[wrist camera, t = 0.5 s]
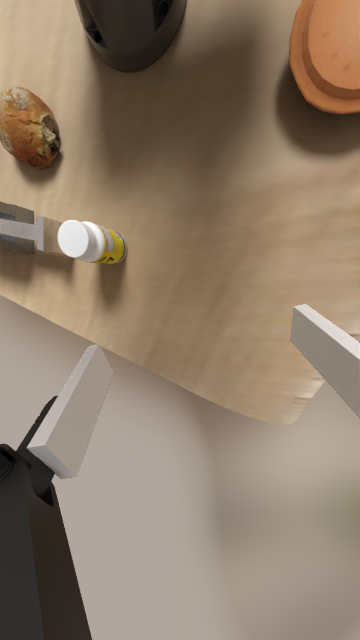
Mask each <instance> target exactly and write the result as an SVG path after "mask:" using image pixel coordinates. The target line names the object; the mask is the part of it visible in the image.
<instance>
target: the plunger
mask: <svg viewBox="0 0 360 640" xmlns="http://www.w3.org/2000/svg"><path fill="white" fill-rule="evenodd" d="M62 224H63V223H61V222H58V221H55V220H52V219H48V218H45V217H41V216H37V225H33V224H28V223H22V222H17V221H11V220H6V219H0V234H5V235H10V236H15V237H20V238H25V239H30V240H35V241H37V250H42V251H49V252H57V253H64V252H63V251H62V250H61V248H60V246H59V243H58V231H59V228H60V227H61V225H62Z"/></svg>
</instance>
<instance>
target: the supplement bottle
mask: <svg viewBox="0 0 360 640" xmlns="http://www.w3.org/2000/svg"><path fill="white" fill-rule="evenodd" d="M58 243H59V246H60V248H61V250H62V251H63V252H64V253H65V254H66V255H67V256H69V257H72V258H77V259H80V260H82V261H84V262H90V263H103V264H117V263H119V262H121V261H122V260H123V259H124V257H125V255H126V252H127V246H126V242H125V240H124V238H123V237H122V236H121V235H120V234H119V233H117V232H115V231H112V230H110V229H107V228H105V227H102V226H99V225H97V224H94V223H91V222H79V221H75V220H68V221H66V222H64V223H63V224H62V225H61V227H60V228H59V231H58Z"/></svg>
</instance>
